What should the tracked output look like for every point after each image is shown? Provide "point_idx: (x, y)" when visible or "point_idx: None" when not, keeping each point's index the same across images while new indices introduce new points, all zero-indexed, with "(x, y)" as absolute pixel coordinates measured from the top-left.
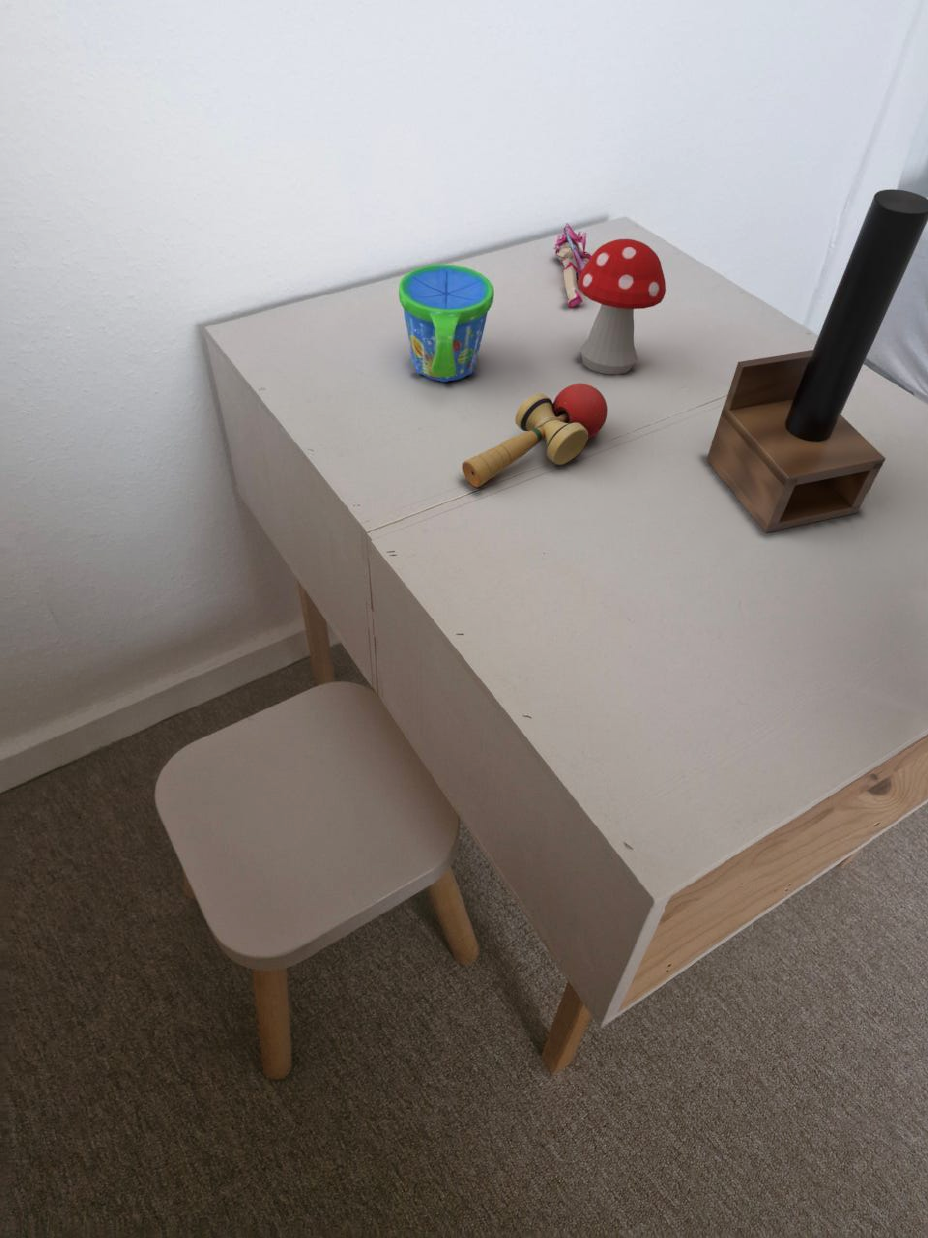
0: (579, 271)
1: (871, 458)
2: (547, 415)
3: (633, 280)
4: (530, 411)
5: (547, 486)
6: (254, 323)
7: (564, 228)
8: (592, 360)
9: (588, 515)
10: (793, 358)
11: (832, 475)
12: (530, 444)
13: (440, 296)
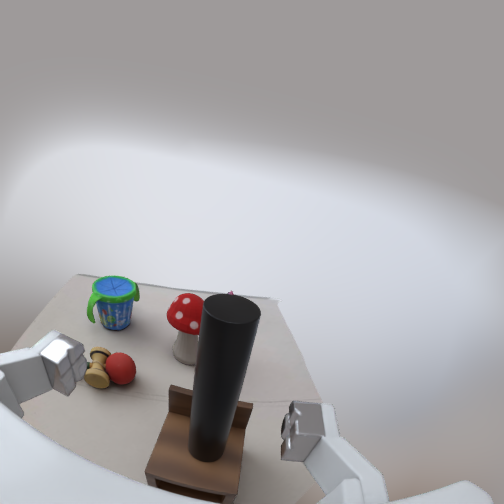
0: None
1: (225, 490)
2: (97, 359)
3: (182, 316)
4: (92, 353)
5: (76, 391)
6: (86, 279)
7: (228, 292)
8: (173, 351)
9: (73, 415)
10: None
11: (187, 486)
12: None
13: (109, 288)
